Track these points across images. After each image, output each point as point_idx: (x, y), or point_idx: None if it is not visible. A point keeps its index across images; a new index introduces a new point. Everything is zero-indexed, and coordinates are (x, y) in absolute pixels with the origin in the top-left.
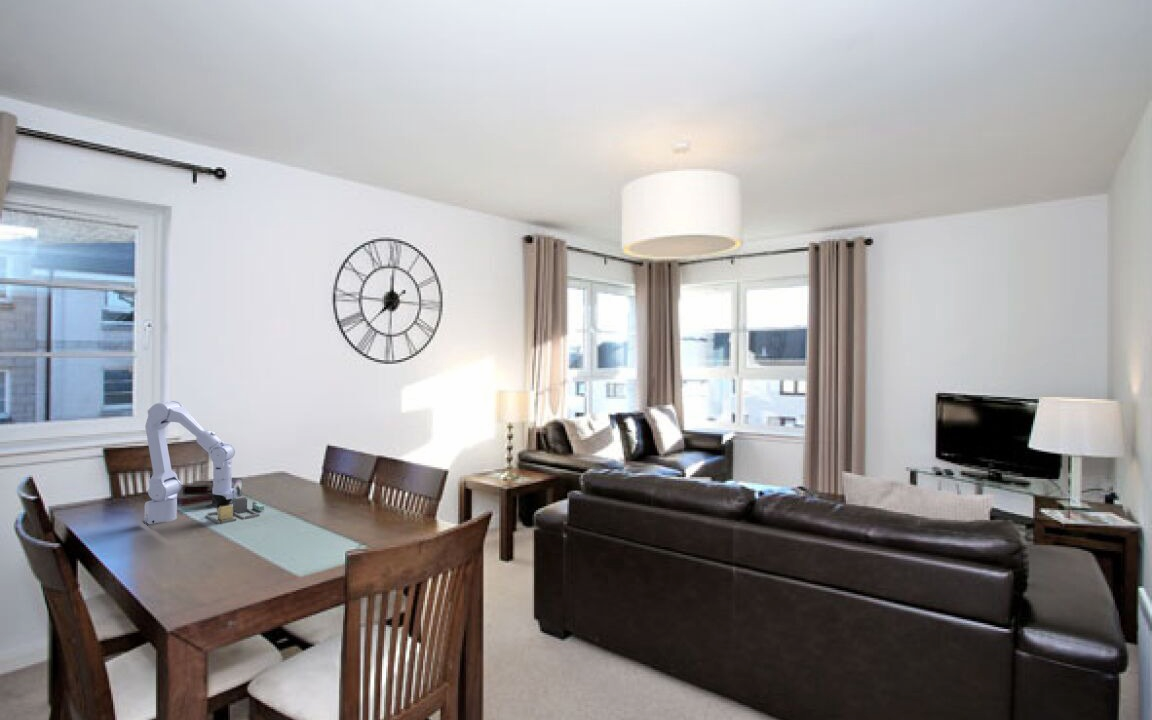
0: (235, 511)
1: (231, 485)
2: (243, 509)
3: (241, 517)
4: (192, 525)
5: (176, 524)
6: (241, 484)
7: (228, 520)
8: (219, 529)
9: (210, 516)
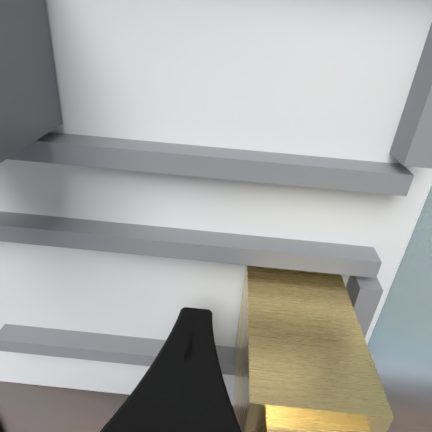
0: (38, 132)
1: None
2: (21, 12)
3: (350, 185)
4: (112, 396)
5: (18, 425)
6: None
7: (364, 326)
8: (381, 357)
9: (81, 351)
